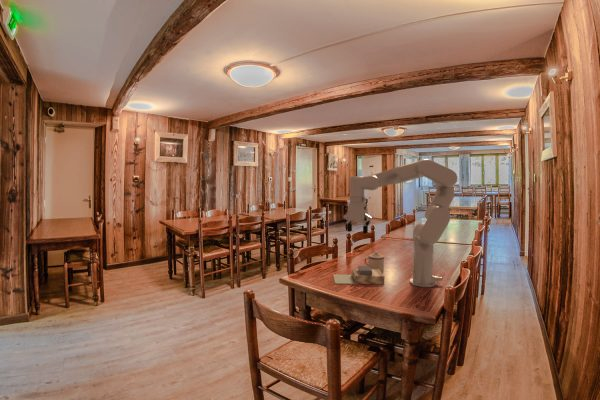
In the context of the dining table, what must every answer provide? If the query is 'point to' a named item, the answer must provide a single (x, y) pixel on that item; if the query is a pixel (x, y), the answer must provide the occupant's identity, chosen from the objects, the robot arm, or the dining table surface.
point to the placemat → (343, 279)
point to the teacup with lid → (376, 261)
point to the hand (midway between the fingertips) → (357, 232)
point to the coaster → (364, 270)
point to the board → (368, 277)
